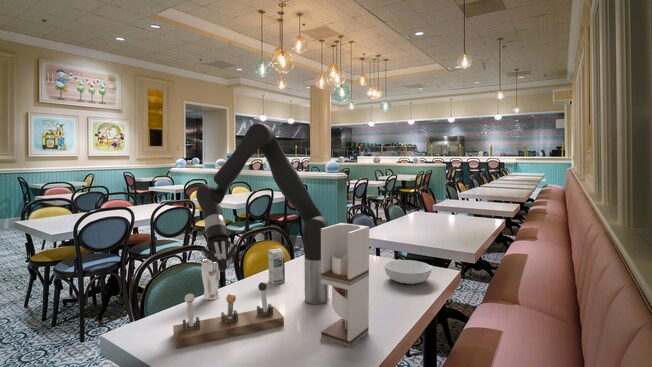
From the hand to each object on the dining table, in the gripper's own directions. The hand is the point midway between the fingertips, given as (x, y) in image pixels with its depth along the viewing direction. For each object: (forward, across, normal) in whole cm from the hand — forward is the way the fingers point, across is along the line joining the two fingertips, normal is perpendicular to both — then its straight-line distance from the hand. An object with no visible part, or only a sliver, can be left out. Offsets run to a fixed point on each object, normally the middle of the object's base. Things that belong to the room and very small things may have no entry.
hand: (223, 270), depth 132 cm
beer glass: (-4, -1, +29) cm, 29 cm away
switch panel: (+19, 0, +6) cm, 20 cm away
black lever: (+17, +12, +3) cm, 21 cm away
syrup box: (-8, +29, +33) cm, 44 cm away
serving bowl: (+10, +82, +15) cm, 84 cm away
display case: (+33, +32, -8) cm, 47 cm away
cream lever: (+16, -12, +4) cm, 21 cm away
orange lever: (+16, 0, +4) cm, 17 cm away
